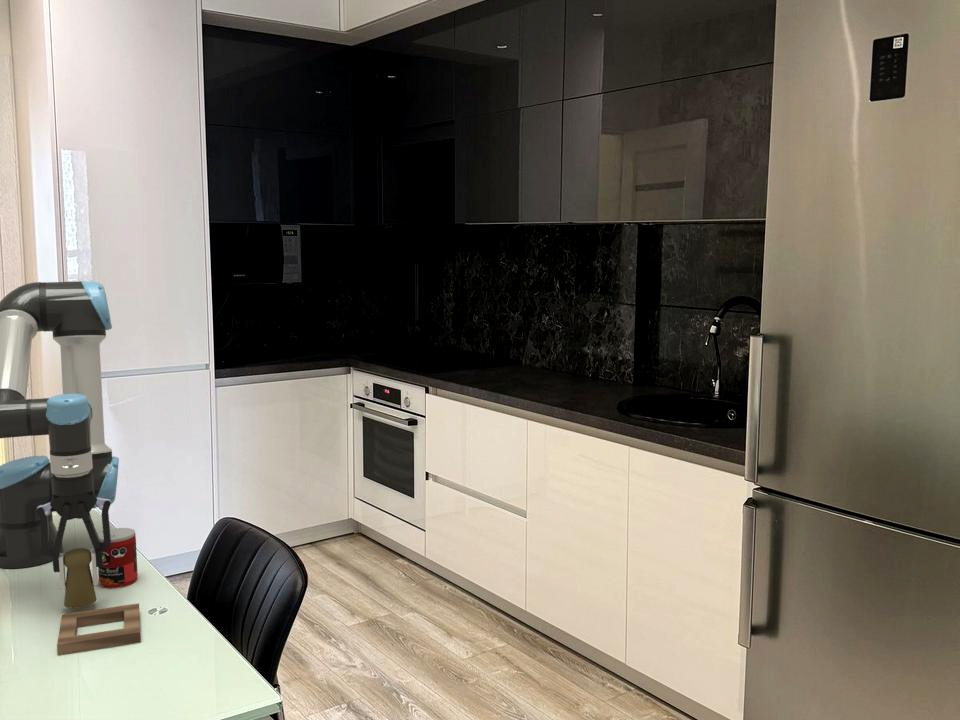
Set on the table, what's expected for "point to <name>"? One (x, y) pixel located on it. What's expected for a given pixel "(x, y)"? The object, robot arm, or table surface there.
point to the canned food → (119, 559)
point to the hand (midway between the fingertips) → (79, 584)
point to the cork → (78, 579)
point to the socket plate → (79, 643)
